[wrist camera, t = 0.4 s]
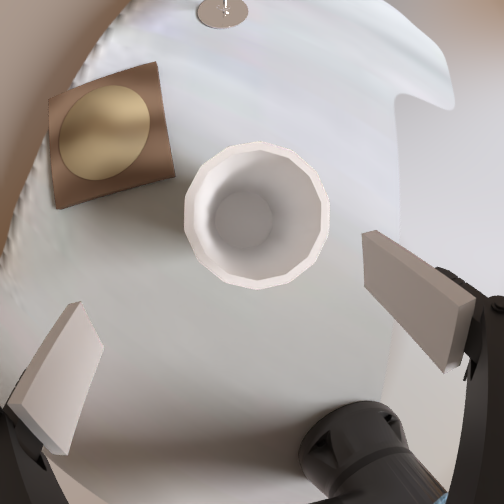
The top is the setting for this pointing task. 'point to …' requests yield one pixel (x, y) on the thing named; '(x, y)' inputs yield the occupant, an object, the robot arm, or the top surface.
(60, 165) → the stand board
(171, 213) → the top surface
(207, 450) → the top surface
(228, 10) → the wineglass
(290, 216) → the foam cup
